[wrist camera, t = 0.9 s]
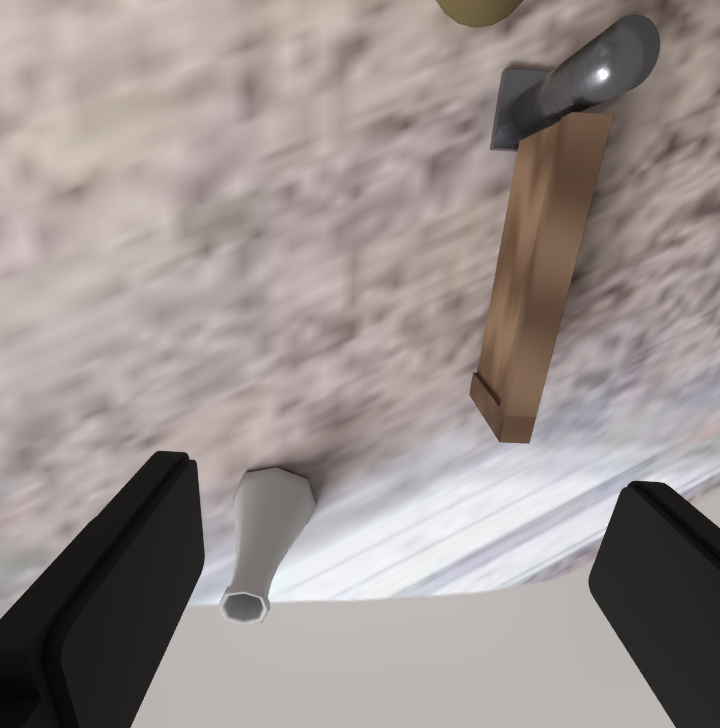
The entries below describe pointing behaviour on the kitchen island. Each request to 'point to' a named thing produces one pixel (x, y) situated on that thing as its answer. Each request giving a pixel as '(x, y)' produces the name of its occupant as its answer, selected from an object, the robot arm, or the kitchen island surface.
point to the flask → (263, 538)
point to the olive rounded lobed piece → (478, 11)
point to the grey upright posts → (575, 81)
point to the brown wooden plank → (536, 269)
